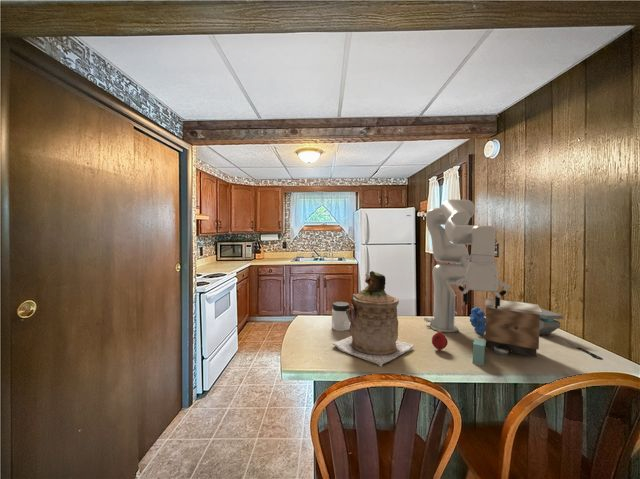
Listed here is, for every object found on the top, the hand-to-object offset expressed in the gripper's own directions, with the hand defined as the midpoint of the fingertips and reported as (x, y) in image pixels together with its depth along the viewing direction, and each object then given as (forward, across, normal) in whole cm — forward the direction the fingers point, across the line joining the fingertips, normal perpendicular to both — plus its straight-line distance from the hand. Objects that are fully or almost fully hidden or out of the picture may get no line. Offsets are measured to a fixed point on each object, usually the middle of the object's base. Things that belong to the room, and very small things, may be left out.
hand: (481, 305), depth 107 cm
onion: (+21, -14, +2) cm, 25 cm away
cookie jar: (+21, -37, -11) cm, 44 cm away
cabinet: (+20, +10, +16) cm, 28 cm away
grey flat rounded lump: (+21, +7, +13) cm, 25 cm away
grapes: (+20, -3, +33) cm, 39 cm away
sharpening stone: (+20, +20, +53) cm, 60 cm away
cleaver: (+21, +30, +38) cm, 53 cm away
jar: (+20, -59, +3) cm, 63 cm away
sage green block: (+20, 0, +6) cm, 21 cm away
